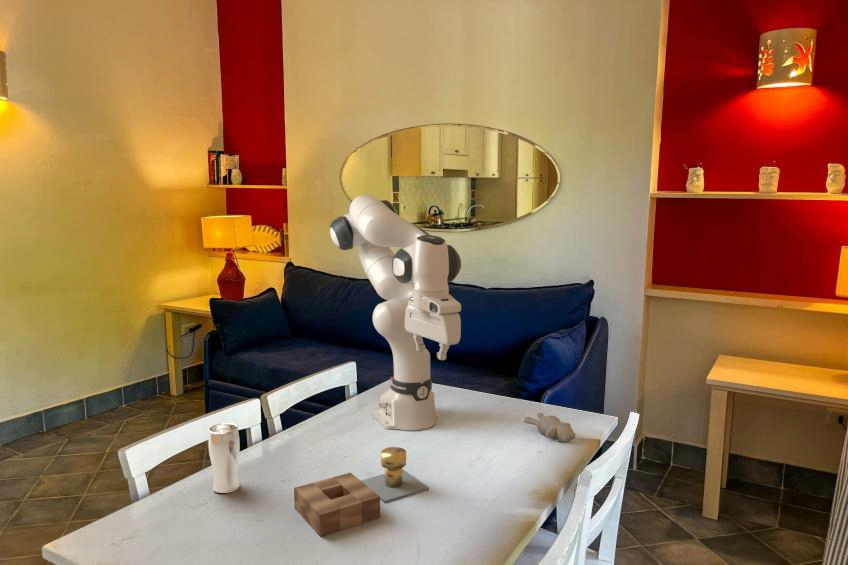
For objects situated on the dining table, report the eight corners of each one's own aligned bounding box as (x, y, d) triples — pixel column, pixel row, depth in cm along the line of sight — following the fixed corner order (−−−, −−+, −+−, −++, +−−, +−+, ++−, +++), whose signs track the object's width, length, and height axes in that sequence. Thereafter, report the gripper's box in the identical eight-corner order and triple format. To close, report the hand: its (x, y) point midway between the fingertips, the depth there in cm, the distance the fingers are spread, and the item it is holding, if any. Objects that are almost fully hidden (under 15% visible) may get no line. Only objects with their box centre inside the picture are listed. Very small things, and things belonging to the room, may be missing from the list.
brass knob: (376, 482, 151) (376, 450, 149) (398, 476, 154) (397, 445, 153) (389, 491, 146) (389, 459, 144) (411, 485, 149) (411, 453, 148)
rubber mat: (360, 482, 151) (360, 480, 151) (402, 470, 158) (402, 468, 158) (384, 502, 141) (384, 500, 141) (428, 489, 148) (428, 487, 148)
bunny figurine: (560, 433, 172) (521, 412, 184) (558, 450, 173) (519, 428, 185) (582, 426, 178) (543, 405, 189) (580, 442, 179) (542, 421, 190)
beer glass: (247, 484, 151) (244, 424, 149) (229, 497, 144) (226, 435, 142) (223, 479, 153) (220, 421, 151) (204, 492, 146) (201, 431, 144)
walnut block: (294, 508, 139) (293, 487, 138) (351, 491, 147) (350, 472, 146) (320, 536, 128) (319, 514, 127) (380, 517, 135) (380, 496, 134)
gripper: (398, 296, 162) (398, 348, 164) (444, 308, 145) (443, 366, 147) (418, 294, 166) (419, 345, 168) (465, 305, 149) (465, 362, 151)
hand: (430, 355), depth 157 cm, fingers open, 8 cm apart
